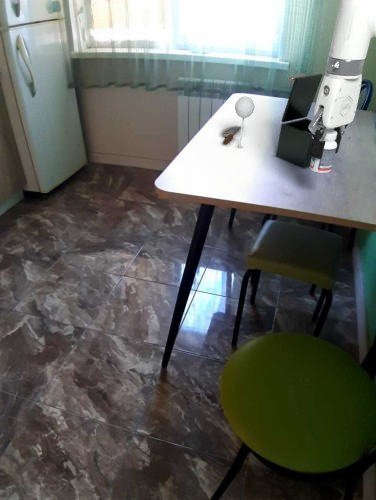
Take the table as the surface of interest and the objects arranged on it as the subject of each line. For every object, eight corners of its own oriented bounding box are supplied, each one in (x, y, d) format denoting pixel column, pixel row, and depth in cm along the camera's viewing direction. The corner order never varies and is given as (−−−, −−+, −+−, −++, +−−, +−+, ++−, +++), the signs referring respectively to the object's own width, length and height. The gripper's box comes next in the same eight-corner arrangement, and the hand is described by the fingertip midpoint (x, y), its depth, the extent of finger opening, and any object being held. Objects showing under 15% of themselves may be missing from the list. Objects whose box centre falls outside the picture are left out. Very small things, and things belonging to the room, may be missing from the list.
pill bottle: (334, 169, 103) (344, 131, 97) (324, 175, 100) (333, 137, 94) (316, 163, 105) (324, 126, 99) (305, 169, 103) (313, 131, 96)
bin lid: (322, 74, 120) (309, 66, 122) (297, 78, 115) (284, 70, 117) (307, 117, 129) (295, 109, 132) (282, 122, 124) (270, 114, 127)
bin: (326, 161, 130) (335, 128, 123) (303, 168, 125) (311, 134, 118) (298, 150, 137) (305, 118, 130) (275, 156, 131) (281, 123, 125)
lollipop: (233, 151, 134) (239, 99, 123) (228, 144, 138) (233, 94, 127) (251, 150, 135) (258, 99, 124) (245, 144, 139) (252, 94, 129)
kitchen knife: (228, 124, 152) (242, 124, 151) (228, 129, 153) (242, 129, 152) (213, 139, 137) (228, 139, 135) (213, 144, 138) (228, 145, 136)
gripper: (333, 75, 82) (312, 167, 94) (383, 65, 89) (357, 151, 102) (304, 68, 86) (288, 157, 98) (354, 59, 94) (333, 143, 106)
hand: (323, 153), depth 100 cm, fingers closed on pill bottle, 5 cm apart
